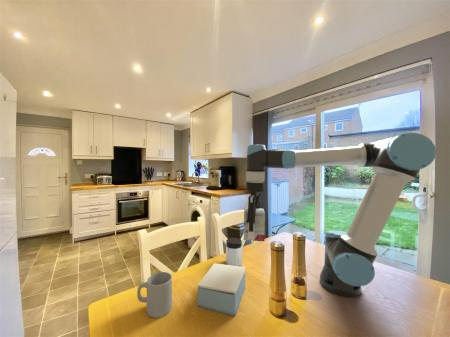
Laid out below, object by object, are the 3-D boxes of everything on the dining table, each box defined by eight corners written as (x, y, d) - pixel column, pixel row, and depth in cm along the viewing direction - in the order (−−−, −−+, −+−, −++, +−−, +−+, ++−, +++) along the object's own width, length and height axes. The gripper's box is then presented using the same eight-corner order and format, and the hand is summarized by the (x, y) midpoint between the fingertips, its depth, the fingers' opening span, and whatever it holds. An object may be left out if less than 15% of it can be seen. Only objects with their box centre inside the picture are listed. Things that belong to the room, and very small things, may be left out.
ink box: (263, 234, 85) (264, 207, 85) (264, 242, 77) (265, 212, 76) (243, 233, 86) (244, 206, 86) (243, 240, 78) (243, 211, 78)
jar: (233, 269, 95) (233, 245, 95) (222, 263, 101) (222, 240, 100) (245, 263, 101) (245, 240, 101) (234, 257, 107) (234, 236, 107)
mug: (174, 300, 73) (174, 271, 73) (168, 317, 65) (168, 285, 64) (141, 301, 72) (141, 272, 72) (132, 319, 64) (132, 286, 64)
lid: (245, 269, 81) (245, 267, 81) (235, 293, 65) (235, 291, 65) (214, 264, 85) (214, 263, 85) (197, 286, 70) (197, 285, 70)
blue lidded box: (245, 288, 81) (245, 271, 81) (235, 316, 65) (235, 295, 65) (214, 281, 85) (214, 265, 85) (197, 306, 70) (197, 287, 70)
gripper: (251, 179, 93) (250, 225, 93) (239, 183, 72) (238, 243, 72) (267, 180, 90) (266, 228, 91) (259, 184, 69) (258, 246, 70)
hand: (253, 234), depth 81 cm, fingers closed on ink box, 9 cm apart
